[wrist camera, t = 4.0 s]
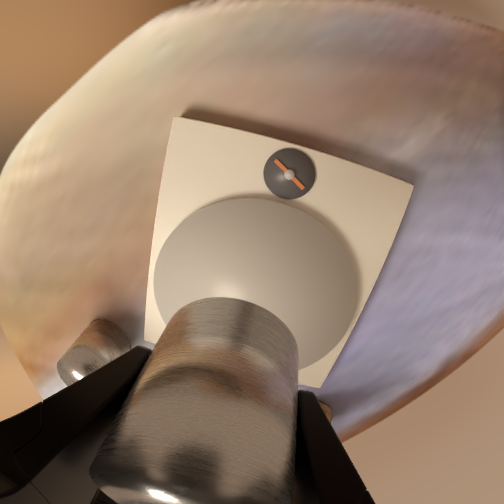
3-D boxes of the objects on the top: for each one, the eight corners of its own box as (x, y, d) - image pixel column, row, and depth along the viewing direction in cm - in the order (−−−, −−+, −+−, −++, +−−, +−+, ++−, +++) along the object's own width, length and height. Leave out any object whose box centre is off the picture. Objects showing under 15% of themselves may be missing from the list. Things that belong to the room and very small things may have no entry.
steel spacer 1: (130, 365, 24) (105, 407, 20) (90, 348, 24) (61, 386, 20) (130, 329, 22) (101, 373, 18) (87, 312, 22) (53, 350, 18)
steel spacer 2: (276, 409, 10) (260, 546, 5) (160, 378, 10) (104, 503, 5) (318, 319, 8) (327, 500, 4) (170, 279, 8) (70, 430, 4)
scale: (319, 378, 22) (320, 393, 21) (148, 331, 22) (141, 344, 21) (407, 182, 16) (417, 187, 15) (180, 116, 16) (170, 116, 15)
